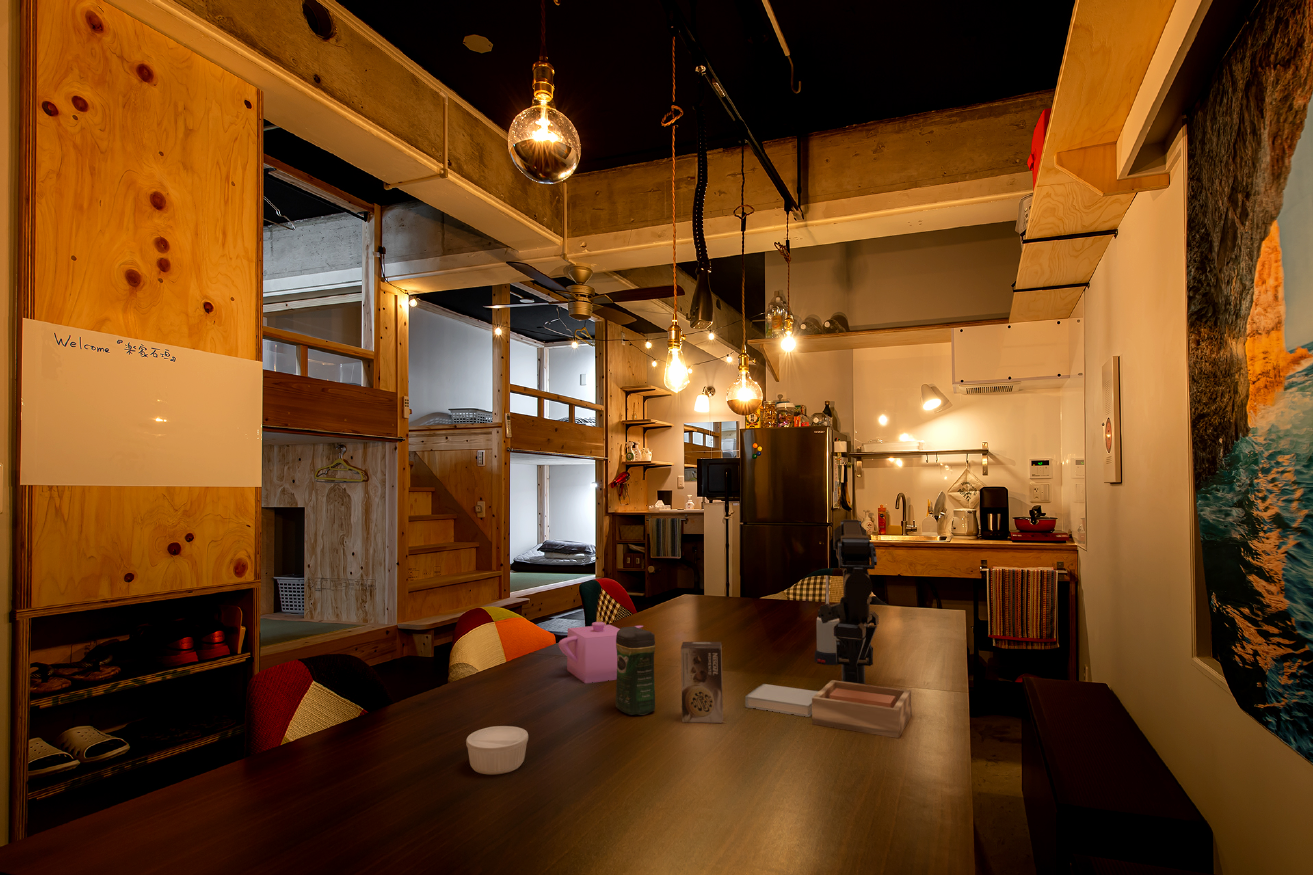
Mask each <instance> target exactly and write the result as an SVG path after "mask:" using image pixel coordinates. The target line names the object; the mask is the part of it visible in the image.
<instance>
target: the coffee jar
mask: <svg viewBox="0 0 1313 875" xmlns="http://www.w3.org/2000/svg"><path fill="white" fill-rule="evenodd" d="M635 626H636V625H634V626H625V627H624V626H623V627H620V628H619V629H620V630H619V631H618V632H617V636H616V649H617V680H616V683H615V684H616V685H615V686H616V687H615V707H616V708H617V710H620V712H623V713H625V714H626V715H627V714H628V715H631V716H632V715H639V716H644V715H648V714H649V713H652V712H654V711H655V709H656V689H655V687H656V686H655V651H656V639H655V633H653V632H651V630H650V631H649V630H645V629H643V628H637V627H635Z"/></svg>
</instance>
